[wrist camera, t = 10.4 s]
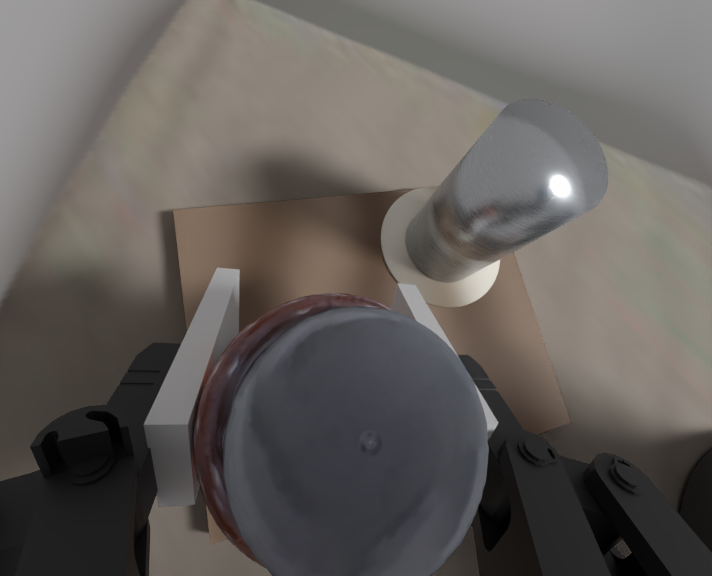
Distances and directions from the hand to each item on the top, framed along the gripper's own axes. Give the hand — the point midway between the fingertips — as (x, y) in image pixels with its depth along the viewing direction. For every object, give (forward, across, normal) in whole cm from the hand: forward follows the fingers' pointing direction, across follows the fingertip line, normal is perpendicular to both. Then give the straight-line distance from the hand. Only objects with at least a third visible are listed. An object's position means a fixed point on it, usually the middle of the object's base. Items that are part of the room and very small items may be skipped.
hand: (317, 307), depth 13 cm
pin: (+8, +8, 0) cm, 12 cm away
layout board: (+5, +4, -4) cm, 7 cm away
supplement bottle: (0, 0, -5) cm, 5 cm away
